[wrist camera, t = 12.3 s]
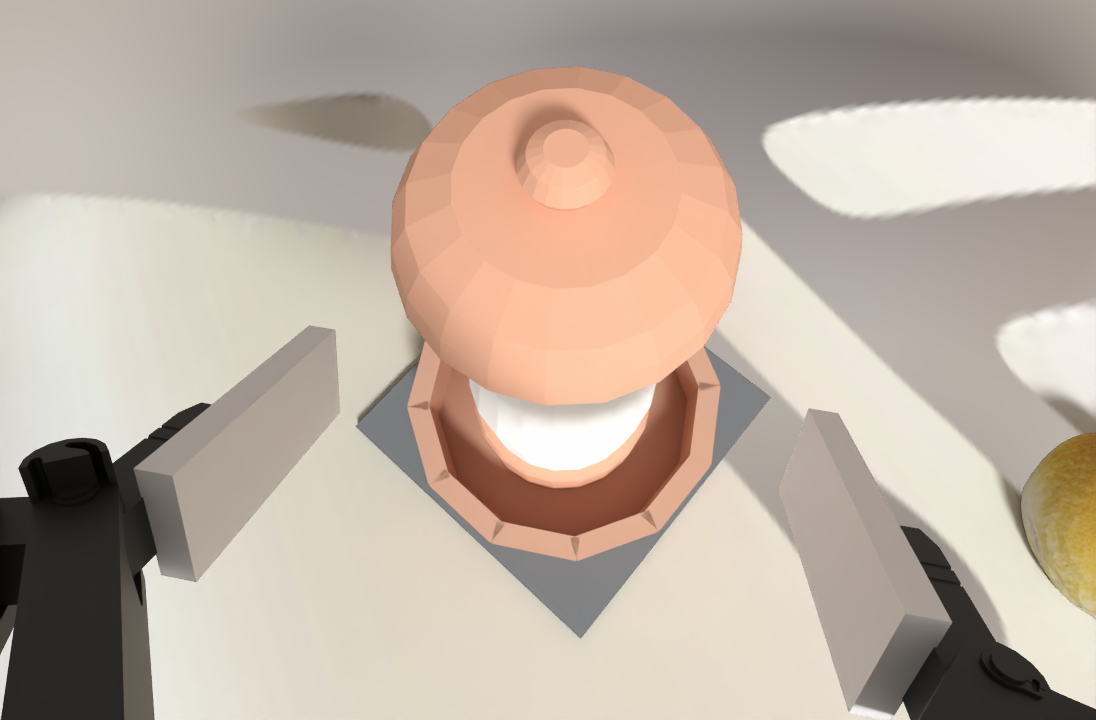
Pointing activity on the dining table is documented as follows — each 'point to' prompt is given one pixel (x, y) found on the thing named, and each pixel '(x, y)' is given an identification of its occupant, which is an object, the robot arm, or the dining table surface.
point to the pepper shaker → (565, 260)
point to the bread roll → (1065, 519)
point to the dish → (565, 514)
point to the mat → (553, 580)
